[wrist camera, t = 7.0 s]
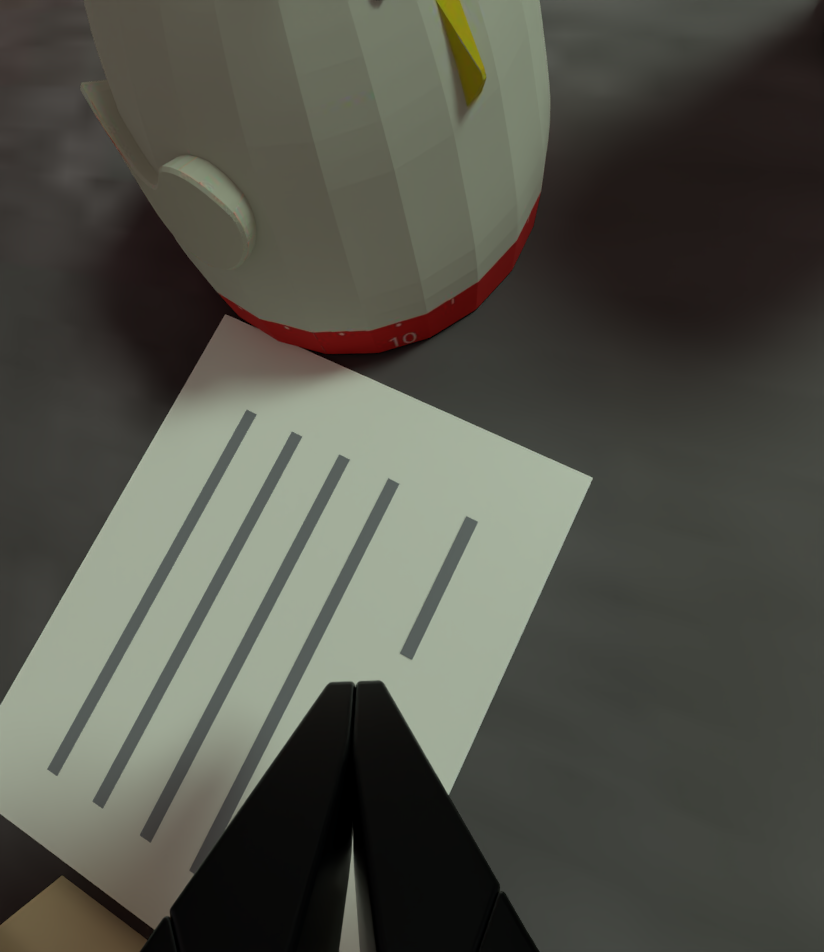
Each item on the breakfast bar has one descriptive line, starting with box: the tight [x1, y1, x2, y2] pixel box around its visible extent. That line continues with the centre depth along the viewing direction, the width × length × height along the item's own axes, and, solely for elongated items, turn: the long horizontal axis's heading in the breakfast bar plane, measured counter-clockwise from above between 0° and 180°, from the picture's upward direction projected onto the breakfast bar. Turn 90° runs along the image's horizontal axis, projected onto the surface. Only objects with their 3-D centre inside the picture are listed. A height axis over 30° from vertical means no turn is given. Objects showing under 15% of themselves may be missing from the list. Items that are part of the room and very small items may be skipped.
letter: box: [0, 314, 593, 952], centre depth 16 cm, size 19×15×1 cm
